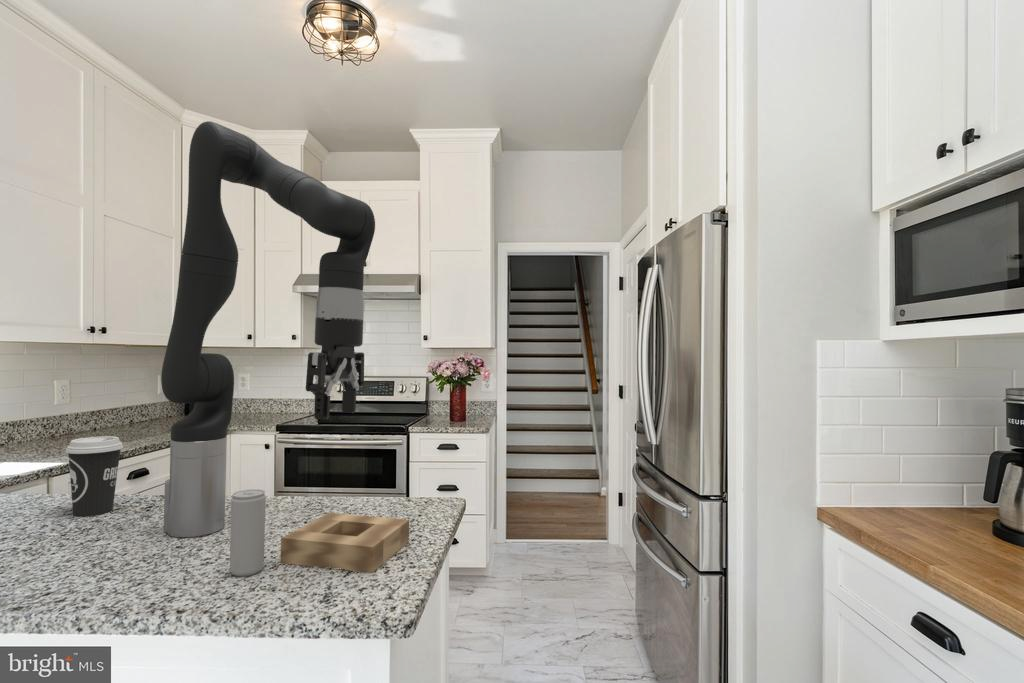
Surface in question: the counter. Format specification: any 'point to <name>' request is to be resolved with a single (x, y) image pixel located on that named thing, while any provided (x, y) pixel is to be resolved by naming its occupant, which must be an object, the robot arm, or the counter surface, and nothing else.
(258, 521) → the beverage can
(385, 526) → the socket
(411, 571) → the counter surface
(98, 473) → the coffee cup
